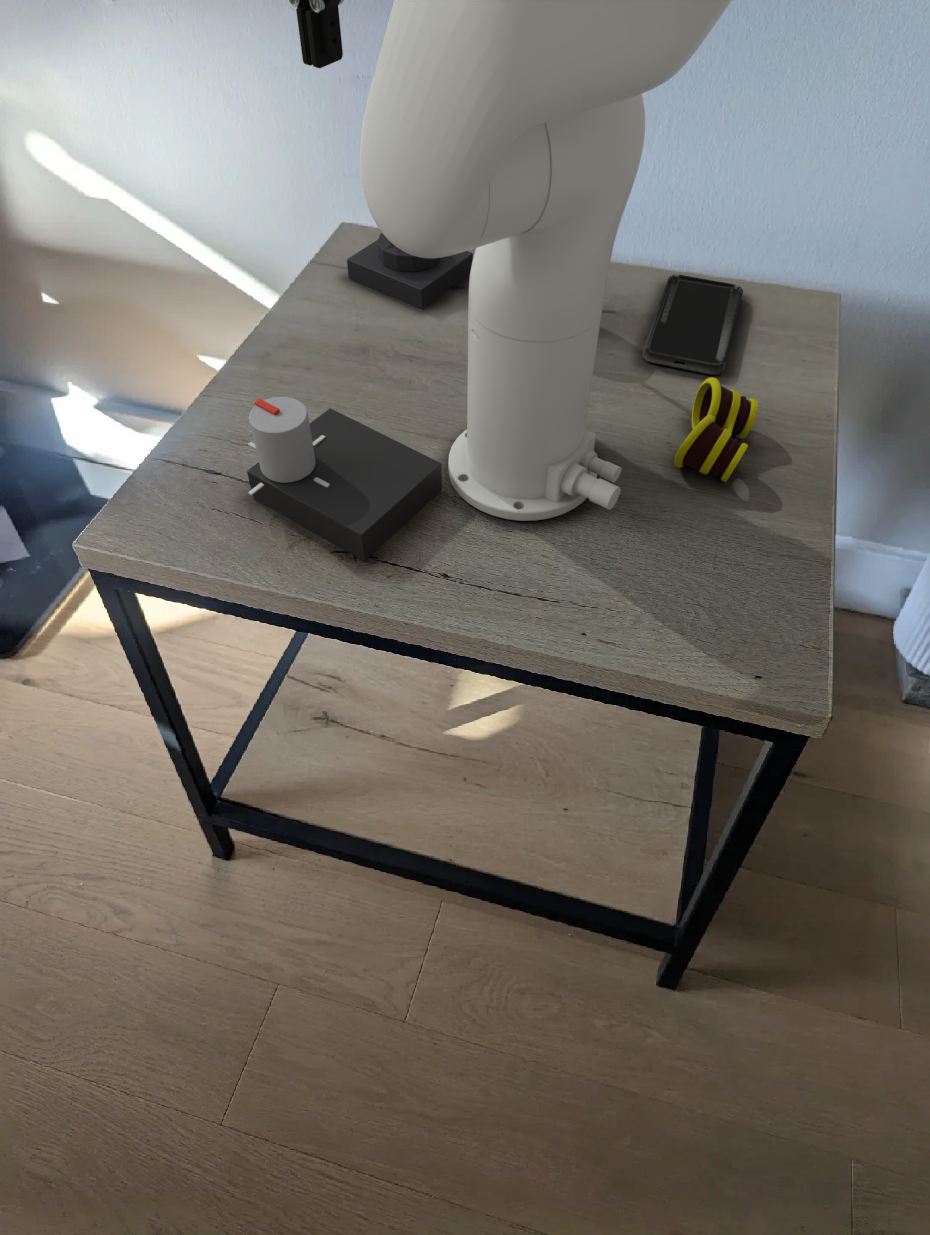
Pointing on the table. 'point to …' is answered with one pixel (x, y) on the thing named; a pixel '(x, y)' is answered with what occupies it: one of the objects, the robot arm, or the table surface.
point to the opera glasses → (717, 430)
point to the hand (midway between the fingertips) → (323, 61)
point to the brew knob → (282, 439)
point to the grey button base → (407, 272)
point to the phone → (693, 325)
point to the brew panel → (353, 486)
